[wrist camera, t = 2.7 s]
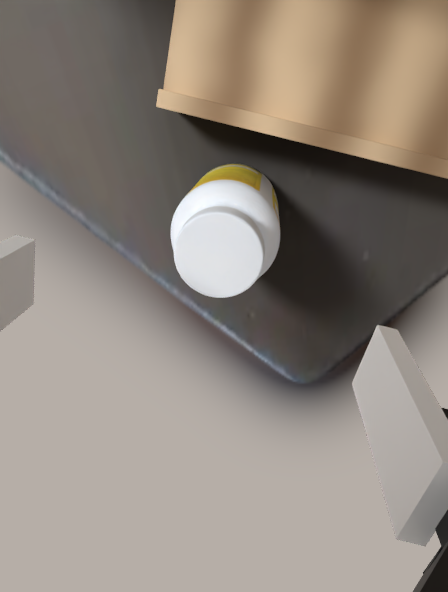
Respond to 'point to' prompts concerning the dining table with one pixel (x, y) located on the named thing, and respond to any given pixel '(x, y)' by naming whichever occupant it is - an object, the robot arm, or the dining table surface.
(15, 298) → the robot arm
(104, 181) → the dining table surface
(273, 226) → the pill bottle
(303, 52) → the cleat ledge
